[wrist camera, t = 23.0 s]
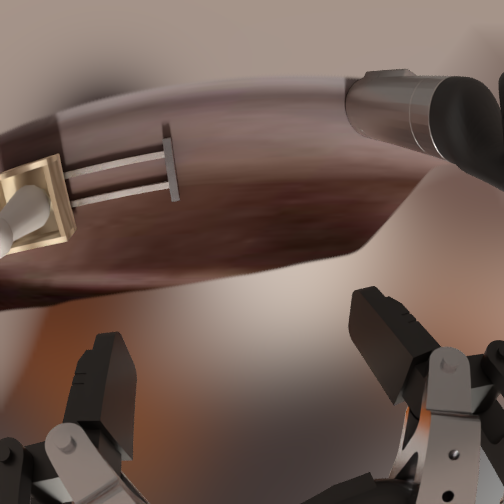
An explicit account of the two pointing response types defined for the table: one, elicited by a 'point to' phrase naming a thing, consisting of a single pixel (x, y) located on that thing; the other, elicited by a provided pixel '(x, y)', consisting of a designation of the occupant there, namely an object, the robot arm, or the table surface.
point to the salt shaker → (23, 215)
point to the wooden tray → (52, 180)
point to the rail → (170, 184)
